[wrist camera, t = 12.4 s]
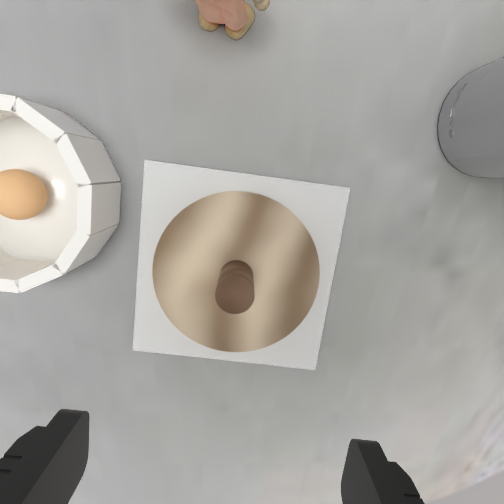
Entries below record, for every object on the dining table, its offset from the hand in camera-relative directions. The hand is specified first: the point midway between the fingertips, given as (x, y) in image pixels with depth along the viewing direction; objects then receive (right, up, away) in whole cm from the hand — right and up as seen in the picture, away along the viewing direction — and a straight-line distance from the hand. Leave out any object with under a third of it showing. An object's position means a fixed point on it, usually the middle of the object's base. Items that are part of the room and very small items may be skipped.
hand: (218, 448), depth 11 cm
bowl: (-18, +11, +20) cm, 29 cm away
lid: (0, +4, +22) cm, 22 cm away
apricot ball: (-18, +11, +17) cm, 27 cm away
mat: (0, +4, +22) cm, 22 cm away
